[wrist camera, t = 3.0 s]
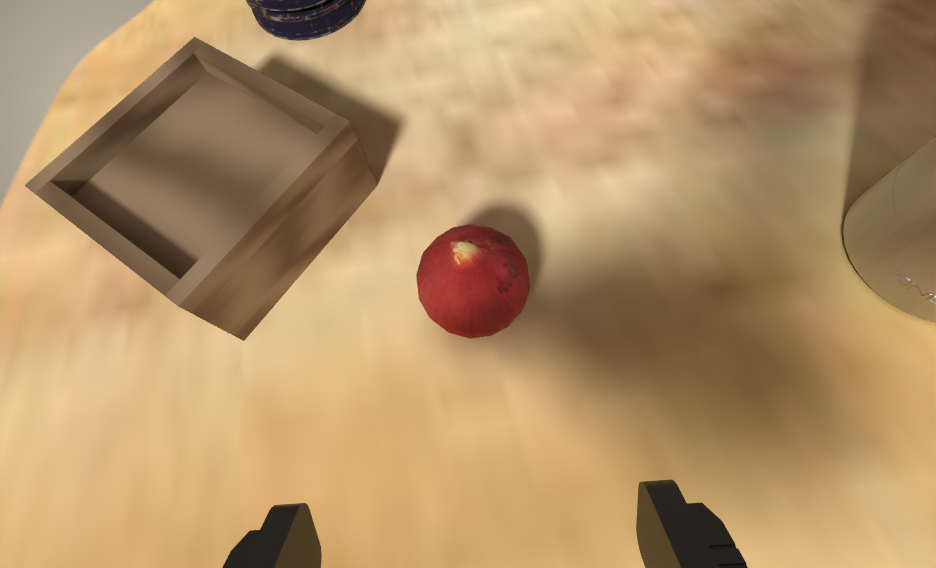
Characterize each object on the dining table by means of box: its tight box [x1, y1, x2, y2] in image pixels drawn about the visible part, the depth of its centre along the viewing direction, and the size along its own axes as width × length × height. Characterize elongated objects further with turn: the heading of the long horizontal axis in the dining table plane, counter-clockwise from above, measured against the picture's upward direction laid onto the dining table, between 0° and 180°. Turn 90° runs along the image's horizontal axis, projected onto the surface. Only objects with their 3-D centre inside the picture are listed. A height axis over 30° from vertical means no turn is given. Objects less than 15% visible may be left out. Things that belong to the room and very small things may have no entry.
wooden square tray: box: [25, 37, 378, 341], centre depth 29 cm, size 13×13×6 cm
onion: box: [417, 224, 530, 338], centre depth 24 cm, size 6×6×8 cm
